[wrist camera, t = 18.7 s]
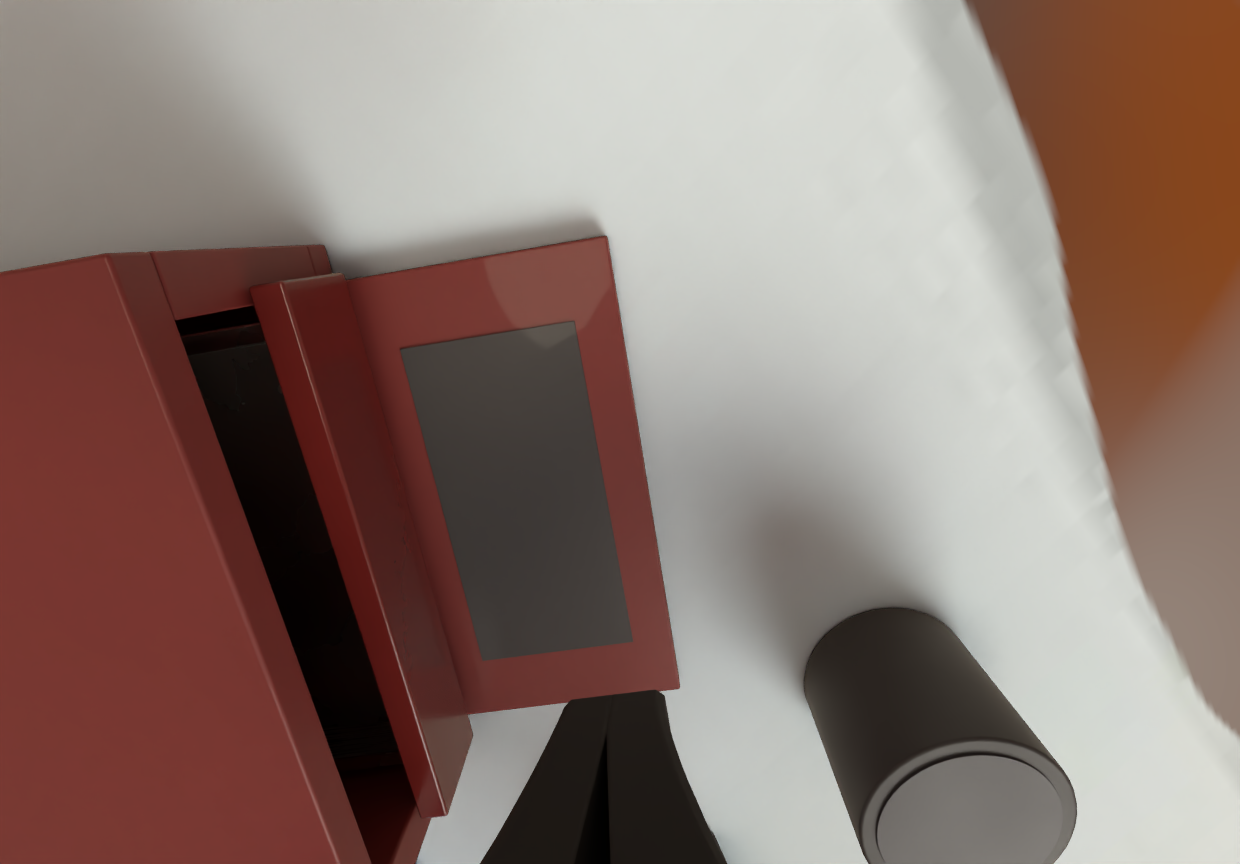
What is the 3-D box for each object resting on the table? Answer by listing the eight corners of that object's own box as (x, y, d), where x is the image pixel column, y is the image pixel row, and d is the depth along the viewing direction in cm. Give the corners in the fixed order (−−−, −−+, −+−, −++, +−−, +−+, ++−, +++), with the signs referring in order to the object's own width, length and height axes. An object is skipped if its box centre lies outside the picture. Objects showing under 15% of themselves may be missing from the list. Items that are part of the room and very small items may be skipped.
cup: (967, 732, 22) (1075, 896, 16) (809, 750, 22) (865, 917, 17) (966, 597, 20) (1086, 729, 15) (797, 617, 20) (854, 754, 15)
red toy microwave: (600, 195, 17) (571, 164, 9) (683, 702, 21) (709, 968, 14) (-148, 327, 18) (-721, 397, 11) (80, 774, 23) (-203, 1051, 15)
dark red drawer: (344, 271, 16) (282, 280, 13) (474, 734, 20) (448, 817, 18) (-135, 354, 17) (-289, 379, 14) (82, 781, 21) (-3, 866, 18)
